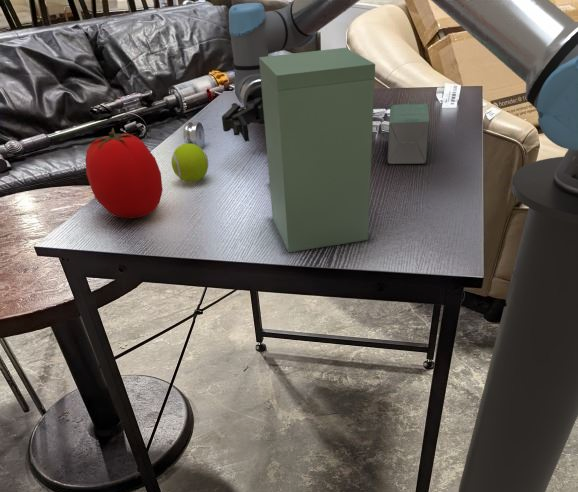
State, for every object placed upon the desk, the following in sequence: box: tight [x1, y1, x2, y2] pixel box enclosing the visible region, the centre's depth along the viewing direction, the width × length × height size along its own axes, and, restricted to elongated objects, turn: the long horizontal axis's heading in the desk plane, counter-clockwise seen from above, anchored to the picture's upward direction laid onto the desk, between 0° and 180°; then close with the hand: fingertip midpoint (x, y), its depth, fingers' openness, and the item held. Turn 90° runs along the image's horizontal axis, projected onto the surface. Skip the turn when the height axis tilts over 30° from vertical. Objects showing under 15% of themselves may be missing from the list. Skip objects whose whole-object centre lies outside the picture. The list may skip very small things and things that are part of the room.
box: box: [387, 103, 431, 165], centre depth 102 cm, size 7×14×8 cm, turn 171°
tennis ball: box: [171, 143, 209, 183], centre depth 97 cm, size 7×7×7 cm
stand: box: [259, 47, 376, 253], centre depth 73 cm, size 12×12×22 cm
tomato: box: [85, 127, 164, 220], centre depth 85 cm, size 12×12×13 cm
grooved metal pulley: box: [183, 121, 206, 149], centre depth 113 cm, size 5×3×5 cm, turn 166°
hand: (281, 129), depth 94 cm, fingers open, 12 cm apart
